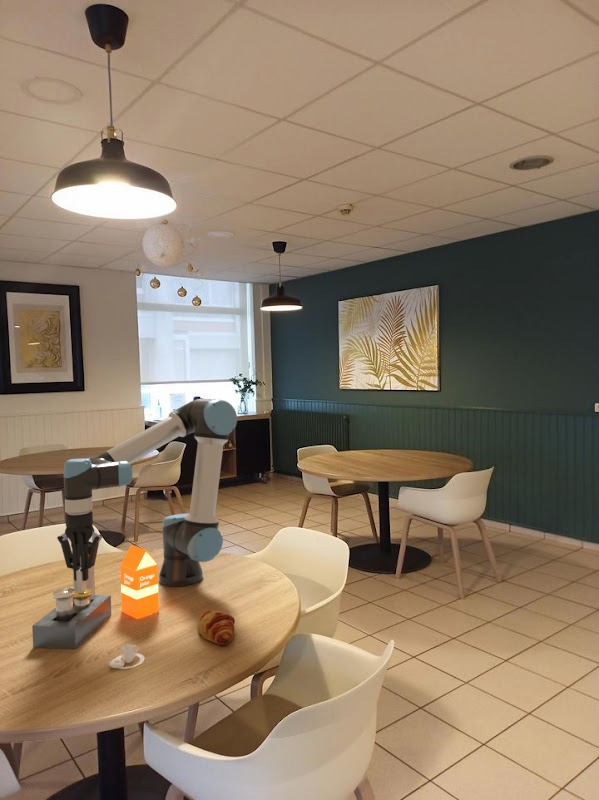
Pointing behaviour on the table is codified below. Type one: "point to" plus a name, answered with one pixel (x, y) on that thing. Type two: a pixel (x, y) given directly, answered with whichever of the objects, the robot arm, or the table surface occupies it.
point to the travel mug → (91, 580)
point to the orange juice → (139, 583)
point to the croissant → (216, 626)
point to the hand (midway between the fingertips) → (81, 591)
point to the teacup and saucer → (127, 657)
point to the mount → (71, 625)
